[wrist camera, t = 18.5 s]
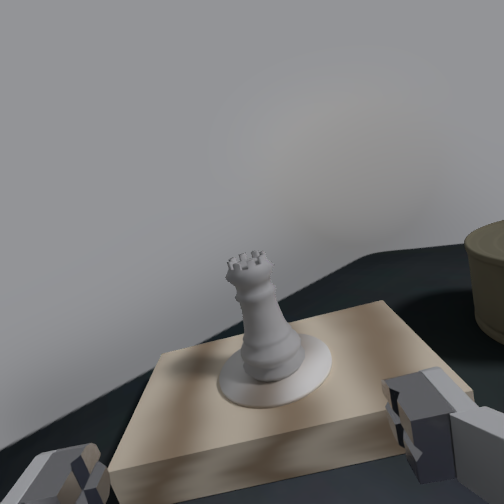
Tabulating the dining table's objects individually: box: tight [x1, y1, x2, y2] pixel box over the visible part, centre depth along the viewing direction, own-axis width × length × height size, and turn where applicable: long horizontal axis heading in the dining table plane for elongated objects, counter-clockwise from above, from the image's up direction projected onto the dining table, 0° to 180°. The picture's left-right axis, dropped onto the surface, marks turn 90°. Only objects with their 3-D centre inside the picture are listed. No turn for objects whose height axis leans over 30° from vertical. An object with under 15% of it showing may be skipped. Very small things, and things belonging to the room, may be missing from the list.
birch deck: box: [108, 300, 474, 504], centre depth 24 cm, size 20×12×3 cm, turn 91°
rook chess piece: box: [226, 251, 305, 382], centre depth 22 cm, size 4×4×8 cm
